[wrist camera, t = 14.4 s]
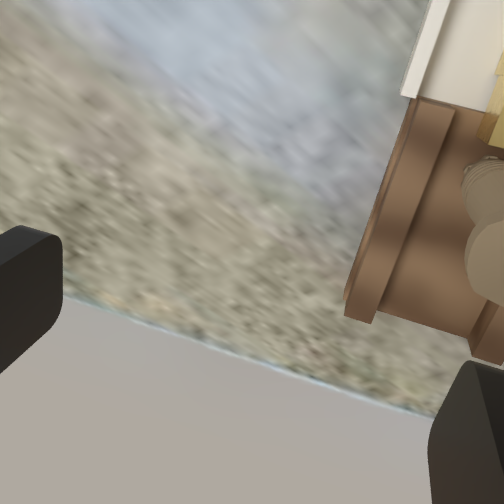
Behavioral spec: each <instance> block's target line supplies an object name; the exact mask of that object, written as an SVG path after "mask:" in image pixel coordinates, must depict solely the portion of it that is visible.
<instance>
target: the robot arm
mask: <svg viewBox="0 0 504 504" xmlns="http://www.w3.org/2000/svg"><path fill="white" fill-rule="evenodd" d="M62 301H63V249H62V242H61V240H60V238H59V237H58V236H56V235H53V234H50V233H47V232H43V231H40V230H36V229H33V228H30V227H26V226H23V225H19V226H16V227H14V228H12V229H10V230H8V231H6V232H4V233H3V234H1V235H0V373H2V372H3V371H4V370H5V369H6V368H7V367H8V366H10V364H12V363H13V362H14V361H15V360H16V359H17V358H18V357H19V356H21V355H22V354H23V353H24V352H25V351H26V350H27V349H28V348H29V347H30V346H32V345H33V344H34V343H35V342H36V341H37V340H38V339H39V338H41V337H42V336H43V335H44V334H45V333H46V332H47V331H48V330H49V329H50V328H51V327H52V326H53V325H54V323H55V322H56V320H57V318H58V316H59V314H60V311H61V307H62ZM428 465H429V476H430V486H431V496H432V504H504V370H501V369H498V368H494V367H491V366H487V365H484V364H481V363H477V362H474V361H471V360H469V361H466V362H465V363H464V364H463V365H462V367H461V369H460V370H459V372H458V374H457V376H456V378H455V380H454V382H453V384H452V386H451V388H450V390H449V392H448V394H447V396H446V398H445V400H444V402H443V404H442V406H441V408H440V410H439V412H438V414H437V415H436V417H435V420H434V422H433V424H432V427H431V431H430V435H429V440H428Z"/></svg>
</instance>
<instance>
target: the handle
mask: <svg viewBox="0 0 504 504" xmlns="http://www.w3.org/2000/svg"><path fill="white" fill-rule="evenodd" d="M463 171H464V177H463V181H462V182H461V190H462V198H463V202H464V205H465V208H466V210H467V212H468V214H469V216H470V218H471V219H472V221H473V222H474V224H475V225H476V226H475V227H474V229H473V230H472V232H471V234H470V236H469V238H468V241H467V245H466V248H465V257H464V261H465V270H466V273H467V276H468V279H469V282H470V285H471V287H472V288H473V290H474V292H476V293H477V294H479V295H481V296H483V297H485V298H486V299H488V300H490V301H492V302H494V303H496V304H498V305H500V306H502V307H504V160H501V159H498V157H496V156H494V155H484V156H483V158H481V159H480V160H478V161H477V162H474V163H470V164H469V163H468V164H466V166H465V167H464V169H463Z"/></svg>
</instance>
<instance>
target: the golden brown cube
mask: <svg viewBox="0 0 504 504" xmlns="http://www.w3.org/2000/svg"><path fill="white" fill-rule="evenodd" d="M494 75H499V76H504V50H503V52H502V55H501V58H500V60H499V63H498V66H497V68H496V71H495V73H494Z"/></svg>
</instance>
